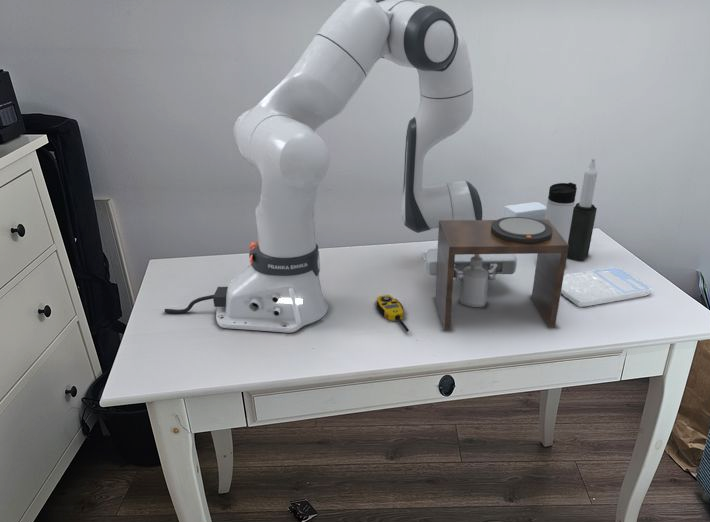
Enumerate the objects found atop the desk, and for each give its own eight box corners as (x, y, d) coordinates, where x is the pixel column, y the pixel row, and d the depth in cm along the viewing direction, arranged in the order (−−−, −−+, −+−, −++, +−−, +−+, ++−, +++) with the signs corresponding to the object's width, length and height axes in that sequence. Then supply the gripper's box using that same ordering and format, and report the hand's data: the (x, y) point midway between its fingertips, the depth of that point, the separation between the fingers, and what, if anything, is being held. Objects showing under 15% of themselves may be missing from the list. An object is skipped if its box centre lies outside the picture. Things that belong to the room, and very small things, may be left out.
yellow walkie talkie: (393, 292, 134) (419, 324, 122) (393, 300, 135) (419, 332, 123) (372, 295, 132) (396, 328, 120) (372, 303, 133) (396, 336, 122)
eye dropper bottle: (475, 310, 132) (479, 258, 125) (456, 301, 135) (460, 250, 129) (489, 304, 134) (494, 253, 128) (470, 295, 138) (474, 245, 131)
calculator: (545, 283, 145) (547, 275, 144) (616, 271, 151) (617, 264, 150) (578, 308, 134) (580, 300, 133) (652, 295, 141) (654, 287, 140)
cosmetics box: (533, 238, 168) (538, 200, 163) (546, 246, 164) (552, 208, 158) (499, 242, 165) (503, 204, 159) (512, 251, 160) (516, 212, 154)
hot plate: (498, 244, 117) (498, 237, 116) (485, 221, 127) (486, 215, 126) (559, 243, 118) (560, 236, 117) (542, 221, 128) (543, 215, 127)
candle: (582, 261, 156) (600, 161, 143) (563, 257, 158) (579, 158, 145) (589, 255, 159) (607, 157, 146) (570, 250, 162) (587, 153, 149)
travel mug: (570, 266, 153) (584, 186, 143) (550, 272, 150) (563, 191, 139) (552, 257, 157) (564, 179, 147) (533, 263, 154) (544, 183, 144)
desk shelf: (444, 330, 124) (449, 246, 115) (435, 298, 136) (439, 220, 126) (555, 327, 127) (569, 245, 117) (536, 296, 138) (548, 219, 129)
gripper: (420, 239, 139) (428, 264, 128) (509, 238, 142) (524, 262, 130) (419, 264, 143) (426, 291, 131) (506, 263, 145) (520, 289, 133)
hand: (476, 277), depth 130 cm, fingers closed on eye dropper bottle, 5 cm apart
